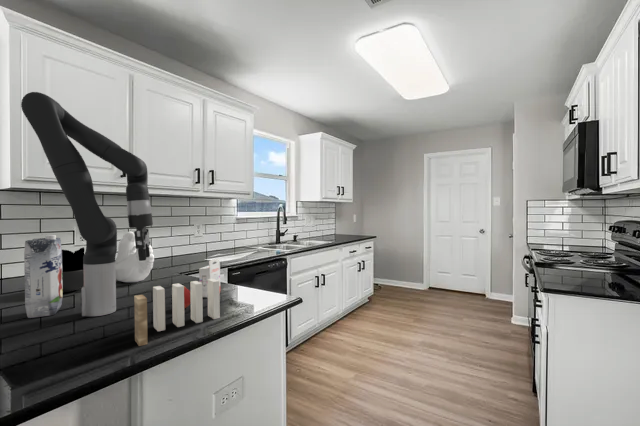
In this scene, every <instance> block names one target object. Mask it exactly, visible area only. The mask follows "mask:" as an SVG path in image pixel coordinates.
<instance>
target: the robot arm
mask: <svg viewBox="0 0 640 426" xmlns="http://www.w3.org/2000/svg"><path fill="white" fill-rule="evenodd" d="M20 103H21V104H20V107H21V110H22V113H23V114H24V116H25V118H26V120H27V121H28V123H29V124H30V127H31V128H32V129H33V131H34V132H35V134H36V136H37V137H38V140H39V143H40V144H41V146H42V147H41V148H42V150H43V153H44V154H45V157H46V158H47V160H48V163H49V165H50V168H51V171H52V172H53V174H54V177H55V179H56V181H57V183H58V184H59V186H60V188H61V190H62V193H63V195H64V196H65V198H66V200H67V202H68V204H69V205H70V207H71V211H72V213H73V216H74V219H75V221H76V225H77V228H78V231H79V234H80V236H81V237H82V238H83V240H85V242H86V244H85V245H86V246H85V251H84V256H83V275H84V286H83V287H81V294H80V295H81V317H100V316H105V315H109V314H112V313H115V312H116V311H117V283H116V282H117V280H116V269H115V261H116V258H117V253H118V231H117V230H118V227H117V224H116V222H115V221H114V220H113V219H112V218H111V217H109V216H106V215H104V213H103V211H102V210H101V208H100V206H99V204H98V202H97V199H96V195H95V189H94V184H93V179H92V176H91V173H90V171H89V168H88V167H87V164H86V162H85V160H84V158H83V156H82V154H80V152H79V150H78V149H77V148H76V146H75V145H74V144H73V142H72V141H71V140H70V139H72V140H74V141H75V142H76V143H78V144H79V145H80V146H82V147H83V148H85V149H86V150H88V151H89V152H90V153H92V154H93V155H94V156H97V158H99V159H101V160H103V161H105V162H107V163H109V164H111V165H112V166H114V167H115V168H117V169H118V170H119V171H121V172H122V173H124V174H125V175H126V182H127V185H126V187H125V196H126V197H125V198H126V212H127V220H128V228H130V229H133V228H134V229H135V228H136V231H133V233H134V234H135V244H136V246H135V247H136V249H137V250H138V255H139V261H143V260H146V257H149V256H150V251H149V245H151V241H150V240H151V239H150V232H149V228H147V227H152V226H153V225H154V222H153V214H152V212H153V211H152V206H151V202H150V193H149V187H148V181H149V180H148V178H149V177H148V173H149V171H148V167H147V164H146V163H145V161H143V160H142V159H141V158H140V157H139V156H136V155H135V154H133V153H132V152H130V151H128V150H127V149H125V148H122V147H121V146H120V144H118V143H116V142H115V141H113V140H112V139H110V138H109V137H107V136H106V135H104V134H101V133H100V132H98V131H96V130H95V129H92V128H91V127H89V126H87V125H85V124H84V123H83V122H81V121H80V120H78V119H77V118H75V116H73V115H72V114H70V113H69V112H68V110H66V109H65V108H63V106H62V105H61V104H60V103H59V102H58V101H56V100H55V99H53V98H52V97H50V96H49V95H47V94H45V93H41V92H38V91H30V92H28V93H26V94H25V95H24V96H23V97H22V99H21V102H20ZM140 244H141V245H140Z"/></svg>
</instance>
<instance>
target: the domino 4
mask: <svg viewBox="0 0 640 426" xmlns="http://www.w3.org/2000/svg"><path fill="white" fill-rule="evenodd" d="M207 289H208V297H207V316H208V317H210V318H211V319H213V320H217V319H220V318H221V314H220V313H221V306H220V305H221V304H220V303H221V302H220V301H221V299H220V293H221V286H220V287H219V281H218V280H216V279H207Z"/></svg>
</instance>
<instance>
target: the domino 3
mask: <svg viewBox="0 0 640 426" xmlns="http://www.w3.org/2000/svg"><path fill="white" fill-rule="evenodd" d="M189 283H190V285H189V286H190V289H189V290H190V298H191V304H190V320H191V321H193V322H194V323H195V324H199V323H203V321H204V319H203V318H204V317H203V314H204V313H203V305H204V304H203V297H202V283H200V281H198V280H193V281H190V282H189Z"/></svg>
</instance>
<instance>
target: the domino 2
mask: <svg viewBox="0 0 640 426" xmlns="http://www.w3.org/2000/svg"><path fill="white" fill-rule="evenodd" d="M171 295H172V296H171V297H172V298H171V300H172V301H171V303H172V304H171V308H172V310H171V311H172V324H173V325H174V326H175V327H177V328H180V327H184V326H185V309H184V285H182V284H181V283H179V282H178V283H173V284H171Z"/></svg>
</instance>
